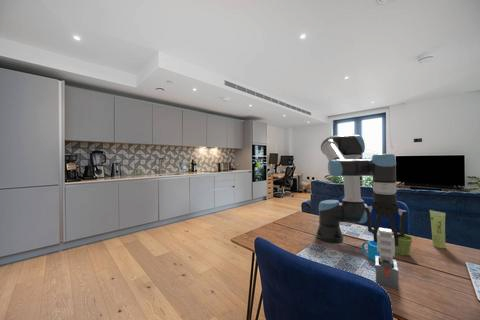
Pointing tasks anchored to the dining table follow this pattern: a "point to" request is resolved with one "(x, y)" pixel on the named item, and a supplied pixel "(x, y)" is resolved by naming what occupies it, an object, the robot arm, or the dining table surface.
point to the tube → (438, 228)
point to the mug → (371, 249)
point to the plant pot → (403, 245)
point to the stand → (387, 274)
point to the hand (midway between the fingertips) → (385, 251)
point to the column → (385, 246)
